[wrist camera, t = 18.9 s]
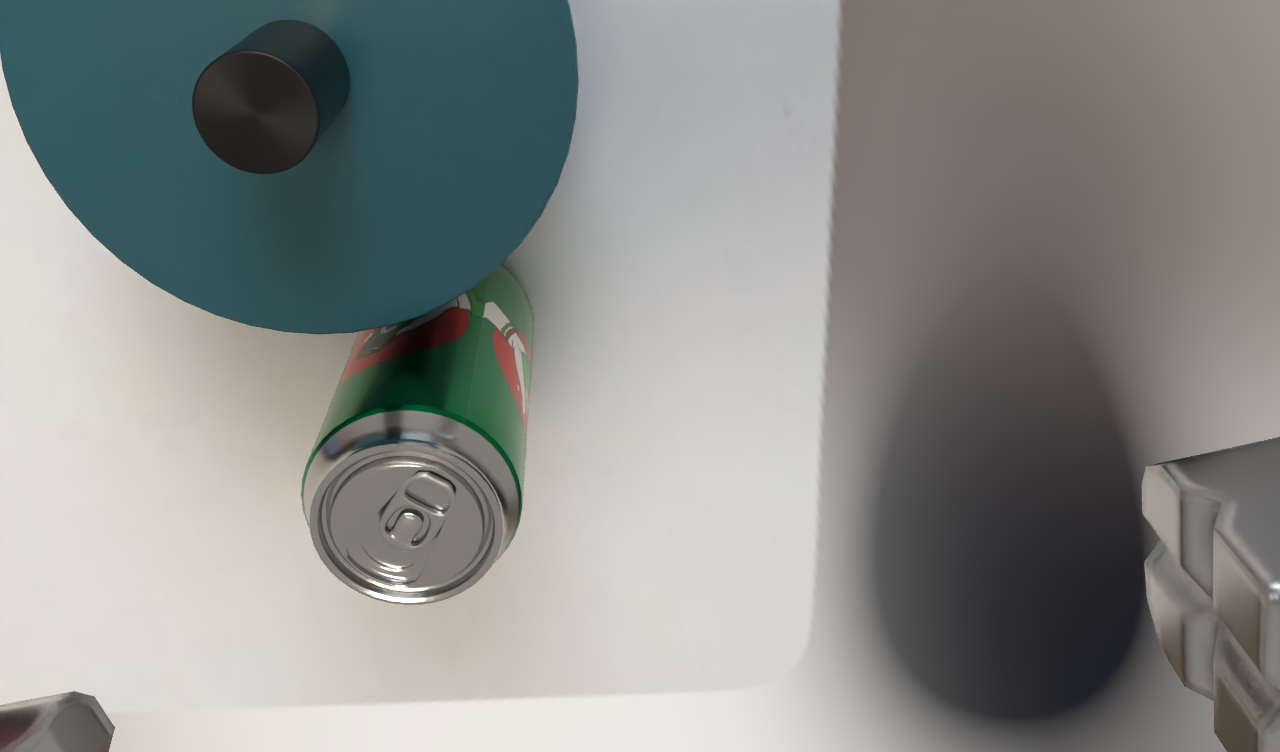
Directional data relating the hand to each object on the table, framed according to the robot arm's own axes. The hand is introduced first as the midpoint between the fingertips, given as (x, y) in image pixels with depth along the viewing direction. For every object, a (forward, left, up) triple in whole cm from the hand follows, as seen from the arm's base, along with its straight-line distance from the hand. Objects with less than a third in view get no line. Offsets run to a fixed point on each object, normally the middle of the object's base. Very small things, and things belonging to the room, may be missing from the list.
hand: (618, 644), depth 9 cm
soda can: (+6, +8, -27) cm, 29 cm away
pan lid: (+6, -2, -20) cm, 21 cm away
